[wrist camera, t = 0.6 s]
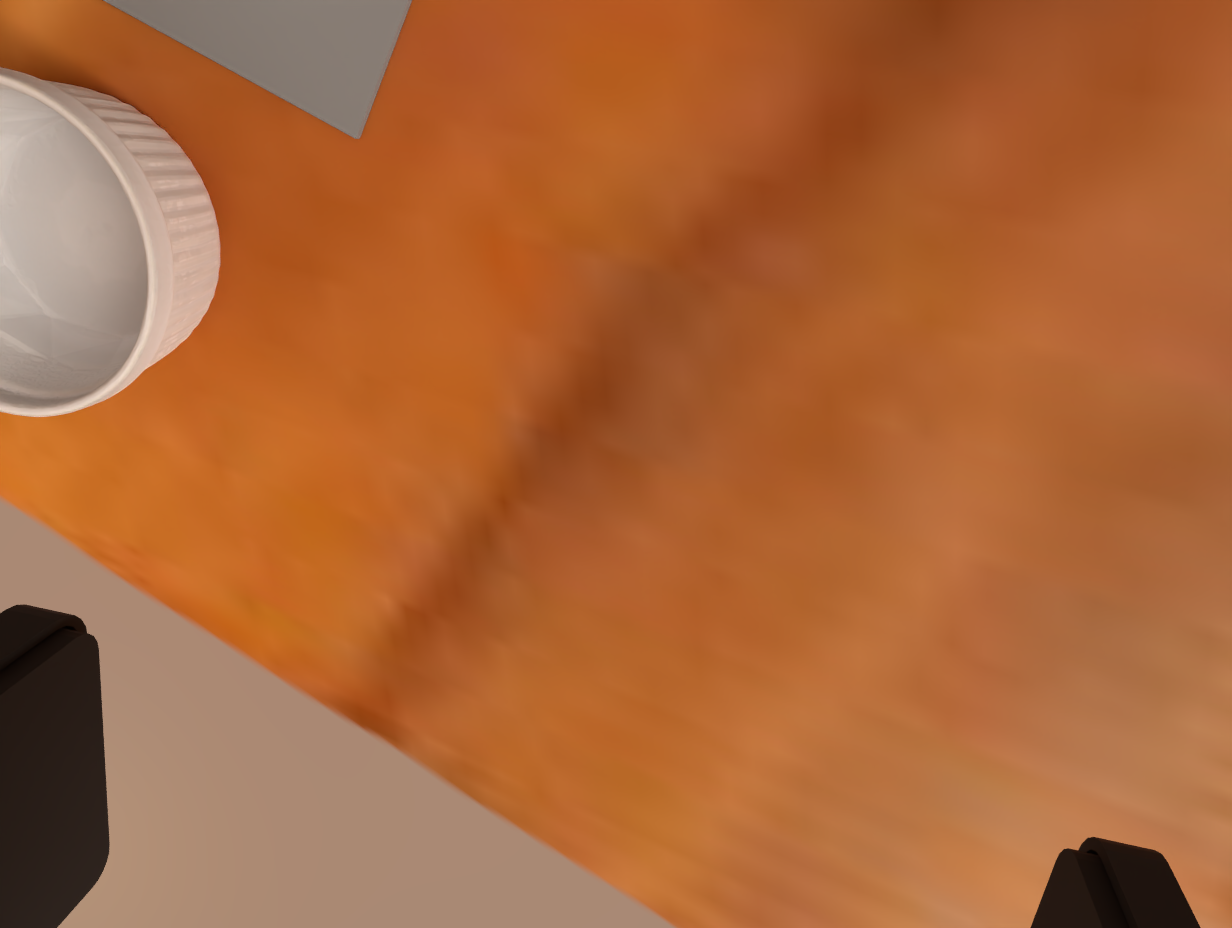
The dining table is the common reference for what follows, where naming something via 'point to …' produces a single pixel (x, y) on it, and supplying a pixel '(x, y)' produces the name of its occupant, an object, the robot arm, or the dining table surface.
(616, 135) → the dining table surface
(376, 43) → the mat
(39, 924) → the robot arm
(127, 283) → the ramekin
